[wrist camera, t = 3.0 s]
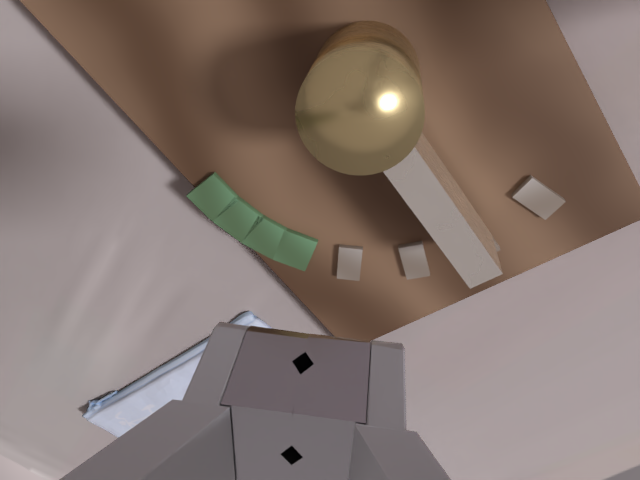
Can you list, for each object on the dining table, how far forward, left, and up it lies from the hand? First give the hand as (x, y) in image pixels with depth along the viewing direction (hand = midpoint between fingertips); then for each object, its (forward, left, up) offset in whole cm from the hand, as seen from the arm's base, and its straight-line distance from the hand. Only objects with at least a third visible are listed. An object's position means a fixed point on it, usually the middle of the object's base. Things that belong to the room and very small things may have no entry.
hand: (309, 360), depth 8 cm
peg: (0, +3, -16) cm, 16 cm away
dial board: (+1, 0, -17) cm, 17 cm away
